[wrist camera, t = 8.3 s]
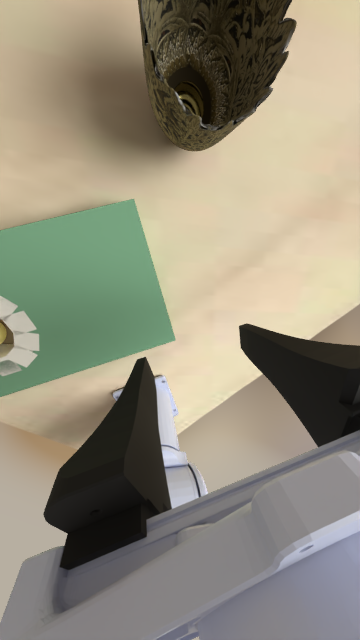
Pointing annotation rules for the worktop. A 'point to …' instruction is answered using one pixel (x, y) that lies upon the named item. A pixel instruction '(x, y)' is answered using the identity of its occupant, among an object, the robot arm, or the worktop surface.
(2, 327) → the ball
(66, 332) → the green rectangular slab
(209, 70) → the cup
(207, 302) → the worktop surface
